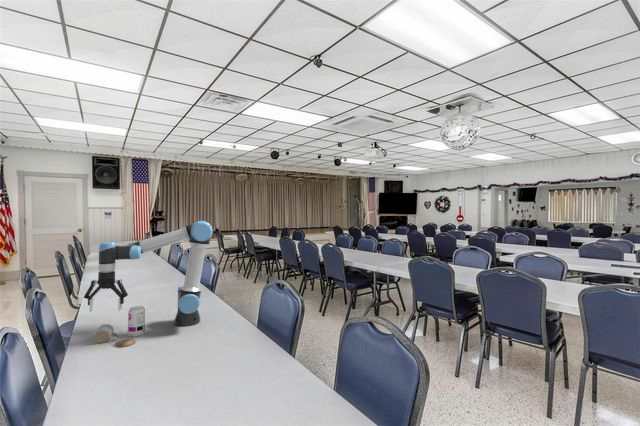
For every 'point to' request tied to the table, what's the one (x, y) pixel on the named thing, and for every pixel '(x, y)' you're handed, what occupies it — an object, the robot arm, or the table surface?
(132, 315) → the supplement can
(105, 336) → the ceramic mug
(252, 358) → the table surface
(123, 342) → the walnut coaster
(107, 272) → the robot arm
